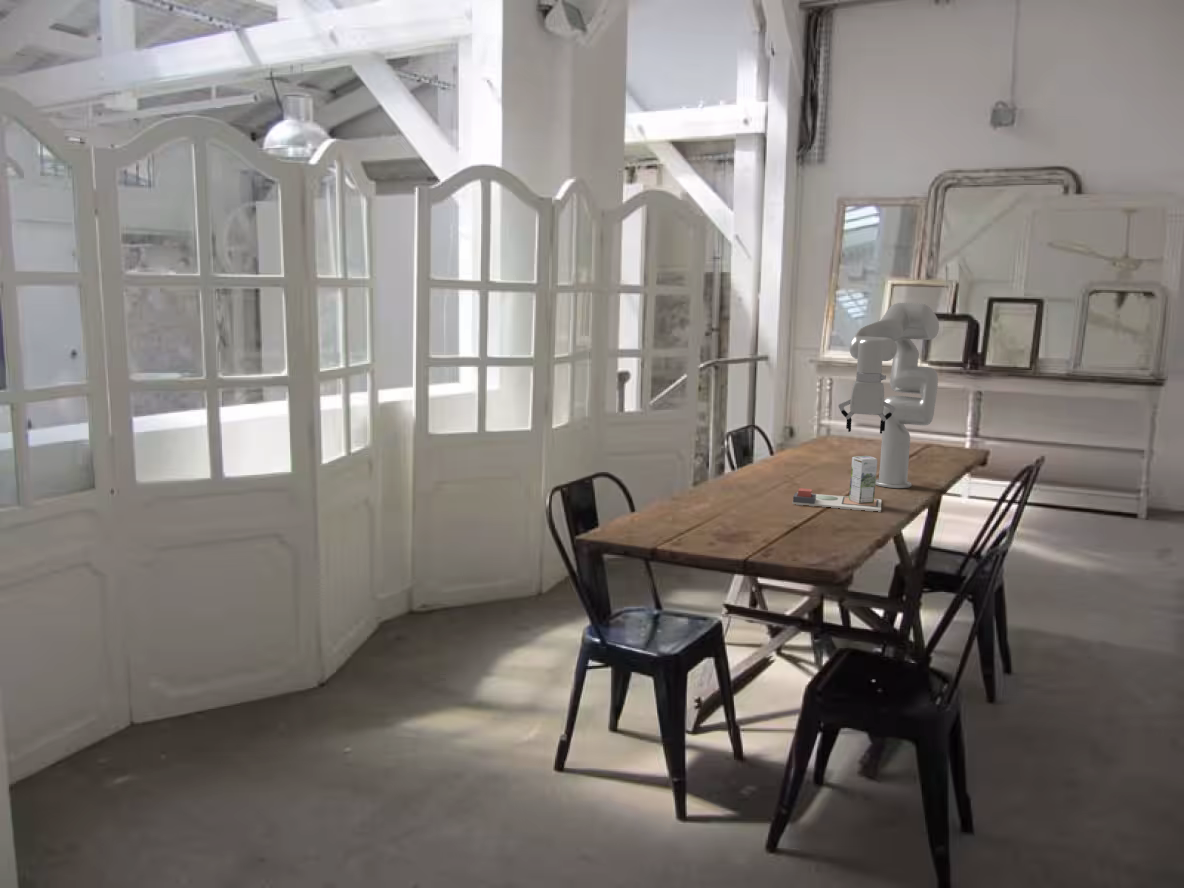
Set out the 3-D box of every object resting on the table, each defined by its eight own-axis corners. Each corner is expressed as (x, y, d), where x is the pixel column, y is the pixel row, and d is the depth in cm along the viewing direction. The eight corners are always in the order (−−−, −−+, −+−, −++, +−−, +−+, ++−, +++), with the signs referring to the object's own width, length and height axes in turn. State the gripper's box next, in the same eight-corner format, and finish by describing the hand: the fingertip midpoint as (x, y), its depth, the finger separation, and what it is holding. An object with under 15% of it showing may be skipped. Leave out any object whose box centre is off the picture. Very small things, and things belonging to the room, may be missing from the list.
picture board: (796, 494, 326) (797, 487, 325) (881, 501, 318) (881, 493, 318) (792, 504, 311) (792, 496, 310) (880, 512, 303) (881, 503, 303)
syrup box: (863, 499, 317) (866, 455, 315) (874, 503, 312) (877, 458, 309) (848, 500, 315) (851, 455, 313) (859, 504, 310) (862, 458, 307)
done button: (799, 494, 315) (799, 488, 315) (811, 495, 314) (812, 489, 314) (797, 496, 311) (798, 490, 311) (810, 497, 310) (811, 491, 310)
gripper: (897, 378, 308) (893, 432, 311) (840, 375, 313) (837, 428, 316) (897, 380, 301) (893, 435, 304) (839, 378, 306) (836, 432, 309)
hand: (865, 432), depth 310 cm, fingers open, 9 cm apart
